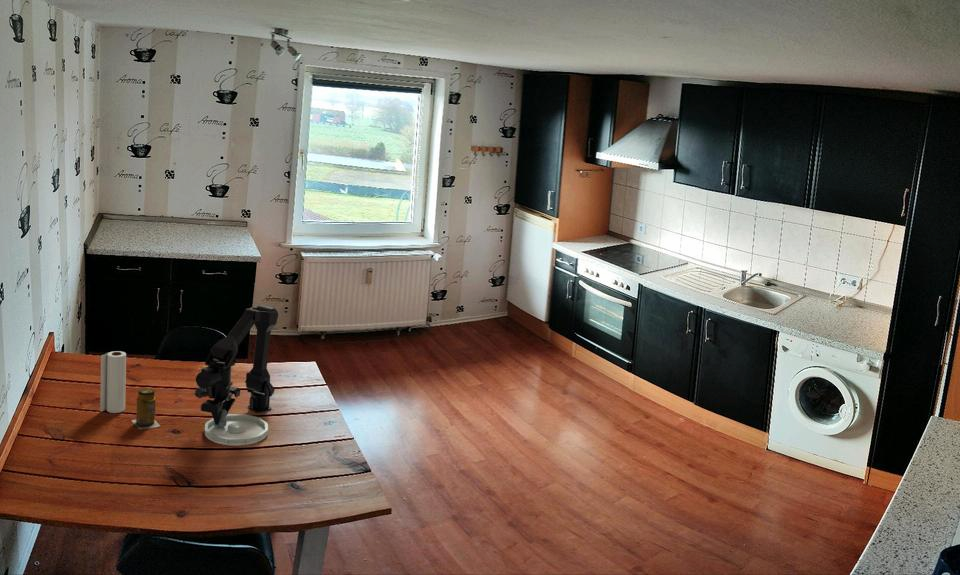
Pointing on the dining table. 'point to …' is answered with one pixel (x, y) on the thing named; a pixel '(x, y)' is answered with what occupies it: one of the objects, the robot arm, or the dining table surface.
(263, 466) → the dining table surface
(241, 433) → the tray
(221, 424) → the blue-grey short cylinder
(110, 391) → the paper towel roll
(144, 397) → the condiment
